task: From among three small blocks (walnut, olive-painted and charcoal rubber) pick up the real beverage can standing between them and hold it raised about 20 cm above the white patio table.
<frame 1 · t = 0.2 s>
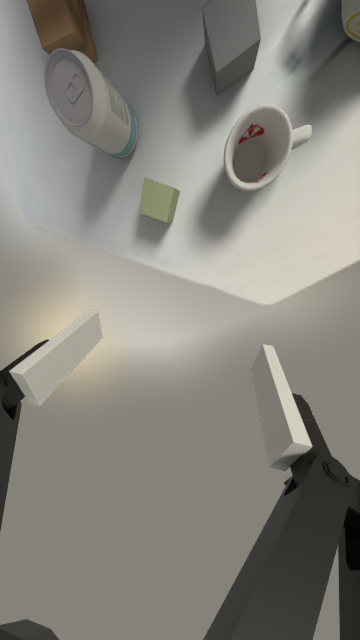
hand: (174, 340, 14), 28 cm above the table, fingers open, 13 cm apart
walnut block: (76, 39, 25), on the table
olive block: (163, 202, 33), on the table
beverage can: (120, 132, 30), on the table
cup: (257, 161, 28), on the table
charcoal block: (229, 57, 24), on the table
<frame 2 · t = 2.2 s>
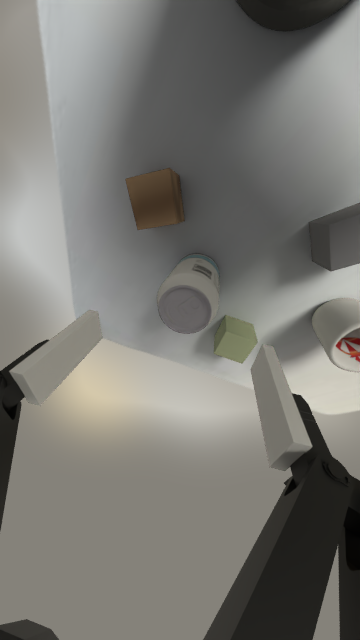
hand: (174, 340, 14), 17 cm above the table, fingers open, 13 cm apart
walnut block: (164, 203, 24), on the table
olive block: (232, 330, 32), on the table
beverage can: (197, 274, 28), on the table
cup: (344, 312, 27), on the table
charcoal block: (333, 234, 22), on the table
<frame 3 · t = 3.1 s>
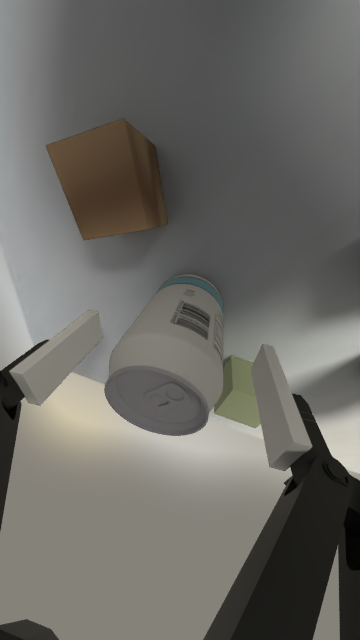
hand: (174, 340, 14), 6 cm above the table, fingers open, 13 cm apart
walnut block: (134, 194, 15), on the table
olive block: (241, 374, 23), on the table
beverage can: (190, 302, 19), on the table
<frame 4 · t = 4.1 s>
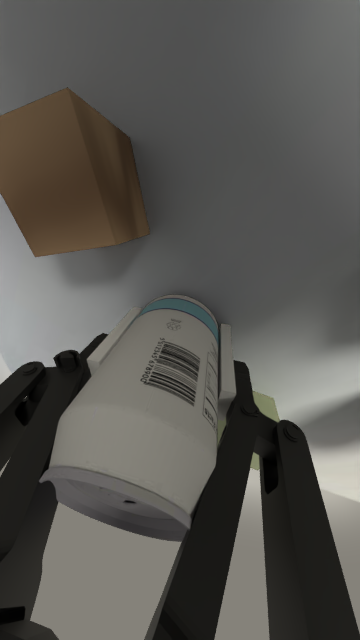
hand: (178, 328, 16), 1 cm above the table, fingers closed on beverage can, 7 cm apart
walnut block: (107, 198, 12), on the table
olive block: (240, 402, 20), on the table
beverage can: (180, 324, 16), on the table, touching gripper
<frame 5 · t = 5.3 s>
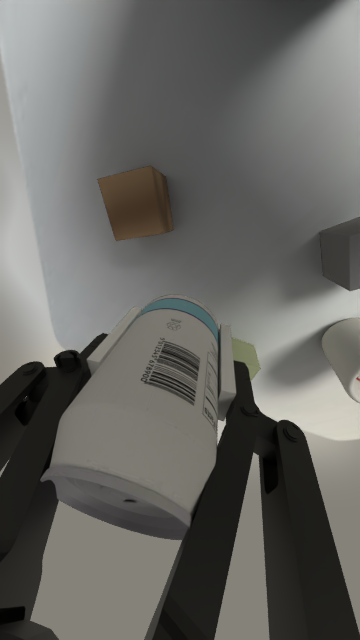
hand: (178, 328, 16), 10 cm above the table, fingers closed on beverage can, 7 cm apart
walnut block: (149, 208, 20), on the table
olive block: (231, 350, 28), on the table
beverage can: (180, 324, 16), point 9 cm above the table, touching gripper
cup: (358, 333, 23), on the table
charcoal block: (348, 245, 19), on the table
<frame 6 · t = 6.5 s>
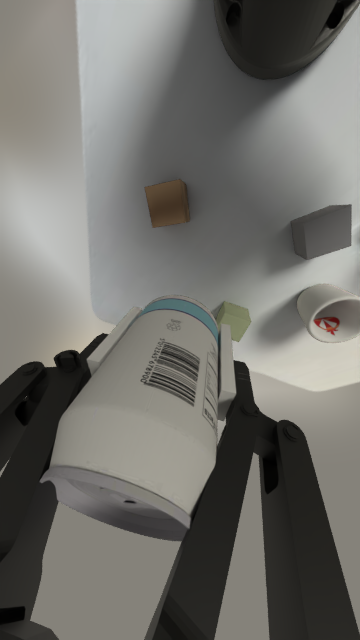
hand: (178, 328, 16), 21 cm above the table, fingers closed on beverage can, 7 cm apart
walnut block: (173, 206, 29), on the table
olive block: (230, 314, 37), on the table
beverage can: (180, 324, 16), point 20 cm above the table, touching gripper
cup: (323, 297, 32), on the table
charcoal block: (311, 231, 27), on the table
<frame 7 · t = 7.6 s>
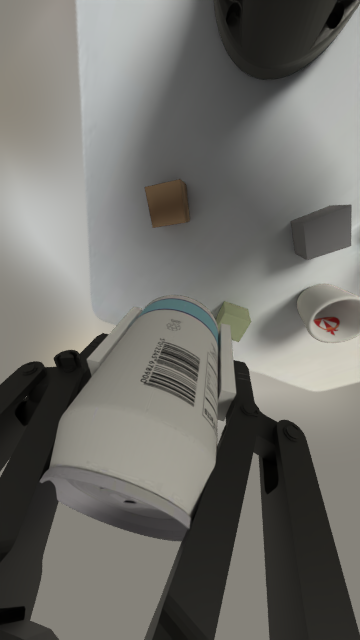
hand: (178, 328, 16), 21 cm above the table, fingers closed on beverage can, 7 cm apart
walnut block: (173, 206, 29), on the table
olive block: (230, 314, 37), on the table
beverage can: (180, 324, 16), point 20 cm above the table, touching gripper
cup: (323, 297, 32), on the table
charcoal block: (311, 231, 27), on the table
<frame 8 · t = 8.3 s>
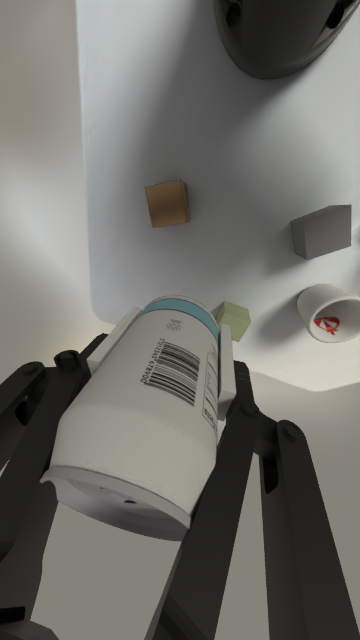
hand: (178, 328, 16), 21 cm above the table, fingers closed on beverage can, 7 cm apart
walnut block: (173, 206, 29), on the table
olive block: (230, 314, 37), on the table
beverage can: (180, 324, 16), point 20 cm above the table, touching gripper
cup: (323, 297, 32), on the table
charcoal block: (311, 231, 27), on the table
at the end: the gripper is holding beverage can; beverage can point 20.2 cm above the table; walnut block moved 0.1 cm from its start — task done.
